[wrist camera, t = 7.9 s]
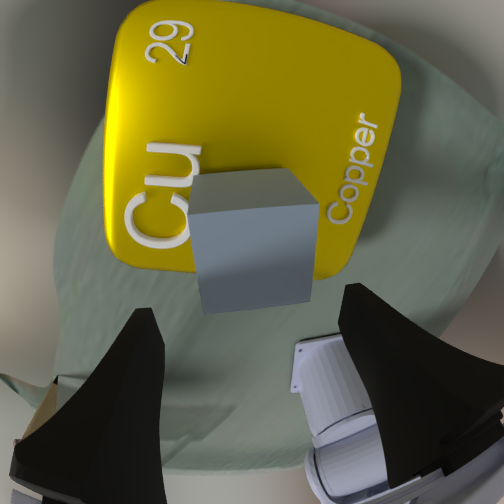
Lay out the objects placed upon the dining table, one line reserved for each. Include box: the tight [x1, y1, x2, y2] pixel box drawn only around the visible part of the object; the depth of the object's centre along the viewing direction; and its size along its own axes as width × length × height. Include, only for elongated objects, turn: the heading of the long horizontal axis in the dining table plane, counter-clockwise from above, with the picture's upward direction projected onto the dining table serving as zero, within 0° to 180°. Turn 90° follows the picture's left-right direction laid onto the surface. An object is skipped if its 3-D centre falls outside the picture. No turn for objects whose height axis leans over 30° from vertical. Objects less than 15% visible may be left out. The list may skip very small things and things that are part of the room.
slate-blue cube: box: [187, 168, 319, 314], centre depth 13 cm, size 4×4×4 cm
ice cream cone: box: [14, 375, 58, 446], centre depth 20 cm, size 6×6×15 cm
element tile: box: [103, 0, 402, 281], centre depth 15 cm, size 15×15×5 cm
